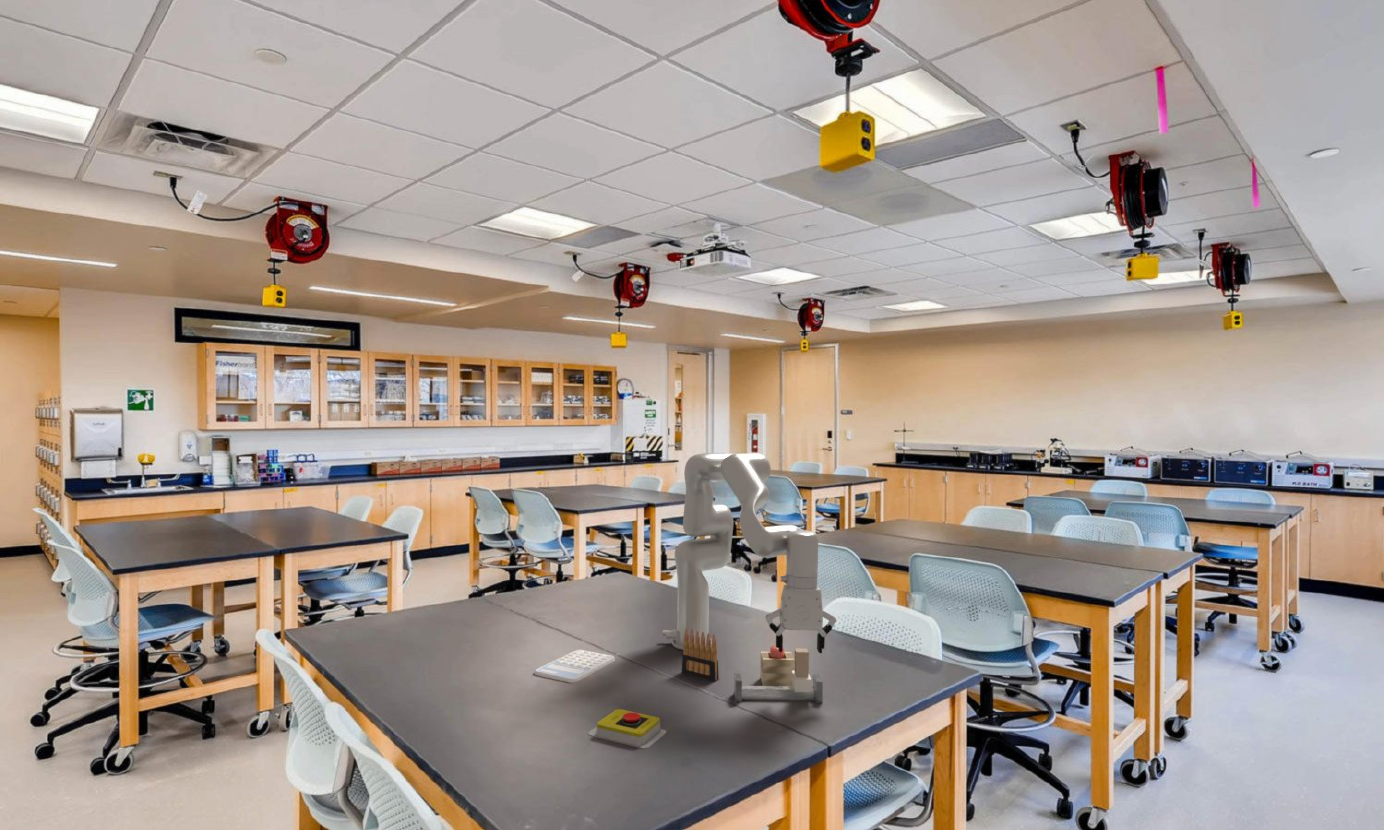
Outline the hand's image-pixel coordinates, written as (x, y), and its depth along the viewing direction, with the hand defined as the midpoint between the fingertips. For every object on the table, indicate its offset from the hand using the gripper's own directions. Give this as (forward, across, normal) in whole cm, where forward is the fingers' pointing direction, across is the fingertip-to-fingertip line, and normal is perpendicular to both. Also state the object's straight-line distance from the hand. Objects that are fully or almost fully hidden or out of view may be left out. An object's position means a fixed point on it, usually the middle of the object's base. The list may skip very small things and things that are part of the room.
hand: (799, 650), depth 168 cm
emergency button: (+12, -40, -21) cm, 47 cm away
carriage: (+9, +1, -1) cm, 9 cm away
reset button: (+6, -4, +9) cm, 12 cm away
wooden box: (+12, -4, +9) cm, 15 cm away
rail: (+11, -5, -1) cm, 13 cm away
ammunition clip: (+12, -24, +13) cm, 30 cm away
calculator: (+14, -58, +19) cm, 63 cm away
